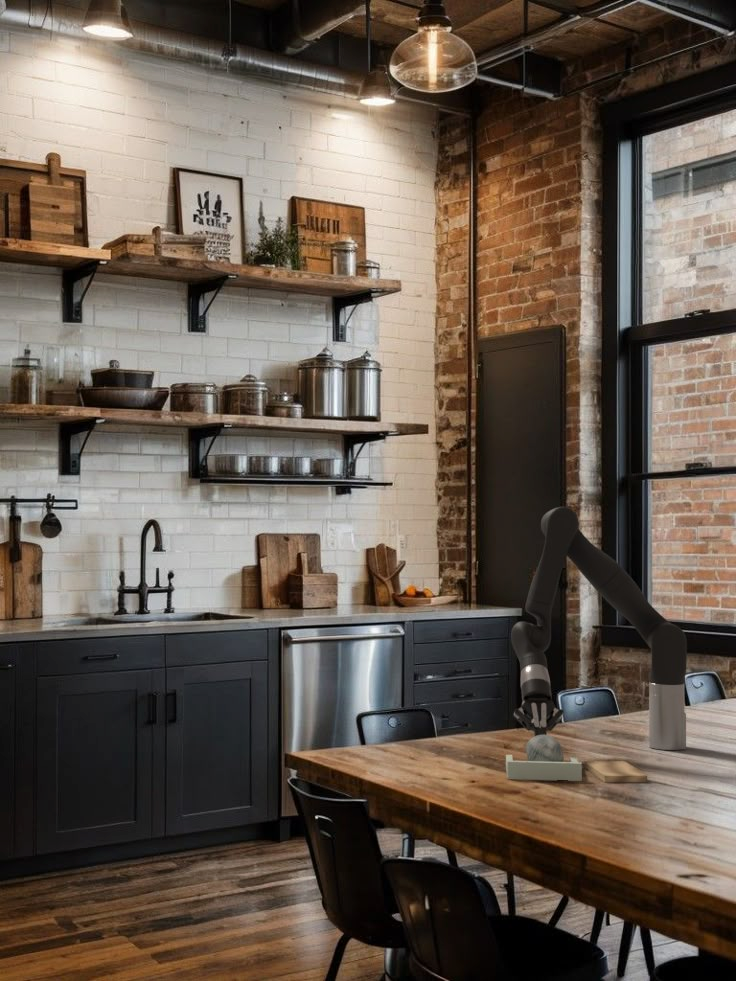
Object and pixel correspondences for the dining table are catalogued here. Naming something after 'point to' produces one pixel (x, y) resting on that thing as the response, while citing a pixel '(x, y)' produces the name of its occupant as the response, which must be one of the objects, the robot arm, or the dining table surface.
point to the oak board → (615, 771)
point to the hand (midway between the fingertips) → (541, 742)
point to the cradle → (544, 770)
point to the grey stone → (544, 749)
